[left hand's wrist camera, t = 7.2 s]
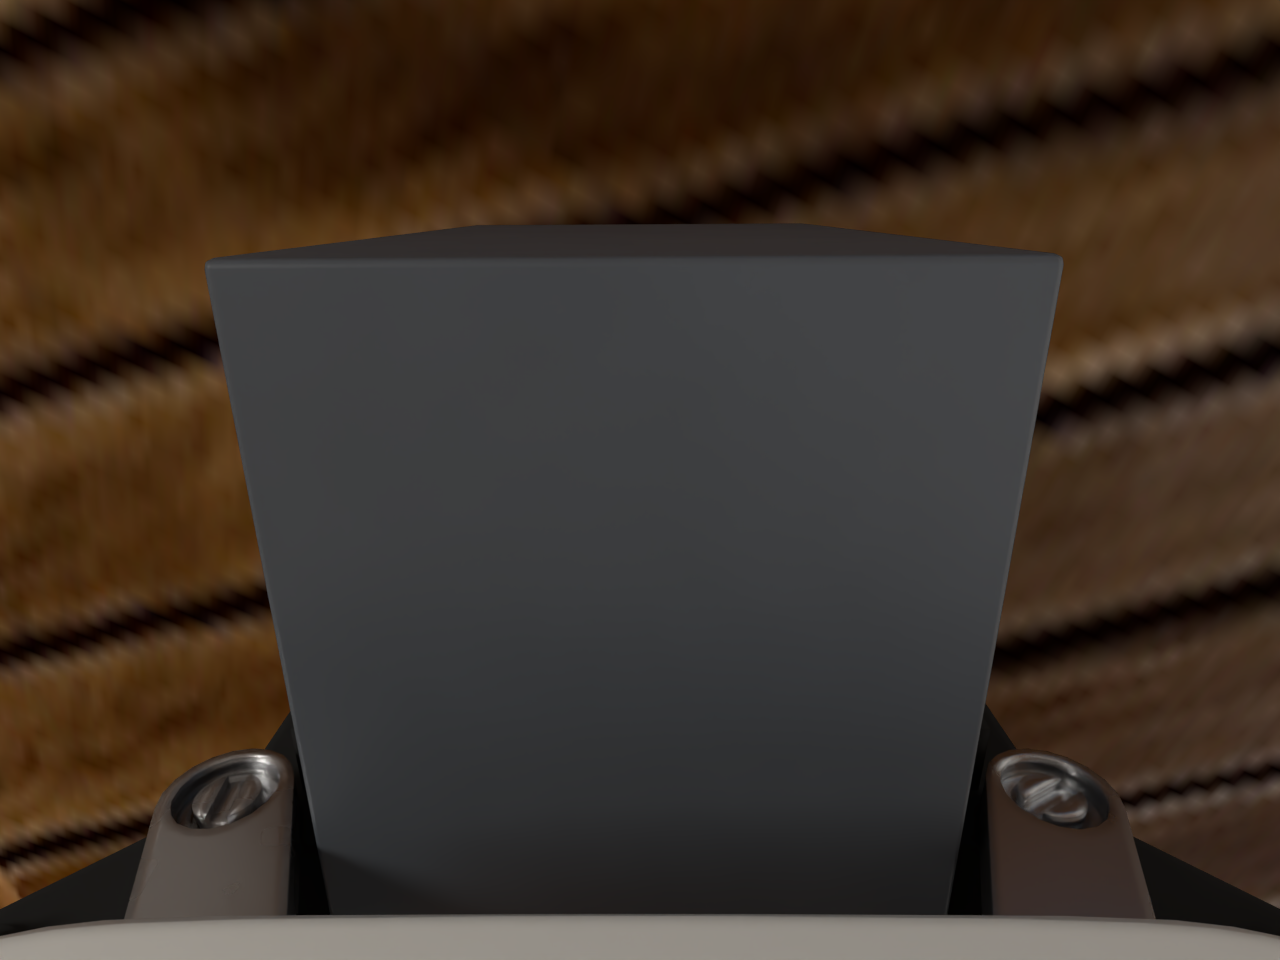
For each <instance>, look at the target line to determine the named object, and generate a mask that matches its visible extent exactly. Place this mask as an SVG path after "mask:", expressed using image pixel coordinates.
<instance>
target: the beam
mask: <svg viewBox="0 0 1280 960" xmlns="http://www.w3.org/2000/svg"><path fill="white" fill-rule="evenodd" d="M1062 270H1063V258H1062V257H1061V256H1059V255H1057V254H1054V253H1046V252H1038V251H1029V250H1021V249H1012V248H1004V247H996V246H987V245H979V244H970V243H962V242H953V241H945V240H936V239H928V238H920V237H911V236H903V235H894V234H886V233H877V232H869V231H860V230H852V229H844V228H835V227H827V226H818V225H810V224H637V225H476V226H468V227H460V228H452V229H444V230H436V231H428V232H420V233H412V234H404V235H396V236H388V237H380V238H372V239H364V240H355V241H347V242H339V243H331V244H323V245H315V246H307V247H299V248H291V249H283V250H275V251H267V252H259V253H251V254H243V255H234V256H226V257H218V258H213V259H211V260H209V261H207V262H206V263H205V274H206V279H207V284H208V289H209V294H210V299H211V304H212V309H213V315H214V320H215V325H216V330H217V335H218V340H219V345H220V351H221V356H222V361H223V366H224V371H225V376H226V381H227V387H228V392H229V397H230V402H231V407H232V412H233V417H234V422H235V428H236V433H237V438H238V443H239V448H240V453H241V458H242V464H243V469H244V474H245V479H246V484H247V489H248V494H249V500H250V505H251V510H252V515H253V520H254V525H255V530H256V535H257V541H258V546H259V551H260V556H261V561H262V566H263V571H264V577H265V582H266V587H267V592H268V597H269V602H270V607H271V613H272V618H273V623H274V628H275V633H276V638H277V643H278V649H279V654H280V659H281V664H282V669H283V674H284V679H285V684H286V690H287V695H288V700H289V705H290V710H291V715H292V720H293V726H294V731H295V736H296V741H297V746H298V751H299V756H300V762H301V767H302V772H303V777H304V782H305V787H306V792H307V797H308V803H309V808H310V813H311V818H312V823H313V828H314V833H315V839H316V844H317V849H318V854H319V859H320V864H321V869H322V875H323V880H324V885H325V890H326V895H327V900H328V905H329V910H330V915H450V914H830V915H947V914H948V909H949V903H950V898H951V892H952V886H953V881H954V875H955V870H956V864H957V858H958V853H959V847H960V842H961V836H962V830H963V825H964V819H965V814H966V808H967V802H968V797H969V791H970V785H971V780H972V774H973V769H974V763H975V757H976V752H977V746H978V741H979V735H980V729H981V724H982V718H983V713H984V707H985V701H986V696H987V690H988V685H989V679H990V673H991V668H992V662H993V657H994V651H995V645H996V640H997V634H998V629H999V623H1000V617H1001V612H1002V606H1003V601H1004V595H1005V589H1006V584H1007V578H1008V573H1009V567H1010V561H1011V556H1012V550H1013V545H1014V539H1015V533H1016V528H1017V522H1018V516H1019V511H1020V505H1021V500H1022V494H1023V488H1024V483H1025V477H1026V472H1027V466H1028V460H1029V455H1030V449H1031V444H1032V438H1033V432H1034V427H1035V421H1036V416H1037V410H1038V404H1039V399H1040V393H1041V388H1042V382H1043V376H1044V371H1045V365H1046V360H1047V354H1048V348H1049V343H1050V337H1051V332H1052V326H1053V320H1054V315H1055V309H1056V304H1057V298H1058V292H1059V287H1060V281H1061V275H1062Z"/></svg>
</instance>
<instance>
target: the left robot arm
mask: <svg viewBox="0 0 1280 960" xmlns="http://www.w3.org/2000/svg"><path fill="white" fill-rule="evenodd" d="M0 960H1280V909H1279V908H1277V907H1275V906H1273V905H1271V904H1268V903H1266V902H1264V901H1262V900H1260V899H1258V898H1256V897H1254V896H1252V895H1250V894H1248V893H1246V892H1244V891H1242V890H1240V889H1238V888H1236V887H1234V886H1232V885H1230V884H1228V883H1226V882H1224V881H1222V880H1220V879H1218V878H1216V877H1214V876H1212V875H1210V874H1208V873H1206V872H1204V871H1202V870H1200V869H1198V868H1196V867H1194V866H1191V865H1189V864H1187V863H1185V862H1183V861H1181V860H1179V859H1177V858H1175V857H1173V856H1171V855H1169V854H1167V853H1165V852H1163V851H1161V850H1159V849H1157V848H1155V847H1153V846H1151V845H1149V844H1147V843H1145V842H1143V841H1141V840H1139V839H1137V838H1135V837H1133V835H1132V831H1131V828H1130V824H1129V821H1128V817H1127V813H1126V810H1125V807H1124V805H1123V803H1122V801H1121V799H1120V797H1119V795H1118V793H1117V792H1116V791H1115V790H1114V789H1113V788H1112V787H1111V786H1110V785H1109V784H1108V783H1107V782H1106V781H1105V779H1103V778H1102V777H1100V776H1099V775H1098V774H1096V773H1095V772H1093V771H1092V770H1090V769H1089V768H1088V767H1086V766H1084V765H1082V764H1080V763H1078V762H1076V761H1074V760H1071V759H1069V758H1067V757H1064V756H1061V755H1058V754H1054V753H1051V752H1048V751H1042V750H1034V749H1016V748H1015V746H1014V745H1013V743H1012V742H1011V741H1010V739H1009V738H1008V736H1007V735H1006V733H1005V732H1004V730H1003V729H1002V727H1001V726H1000V724H999V723H998V721H997V720H996V718H995V717H994V715H993V714H992V712H991V711H990V709H989V708H988V707H987V705H986V704H985V707H984V713H983V718H982V724H981V729H980V735H979V741H978V746H977V752H976V757H975V763H974V769H973V774H972V780H971V785H970V791H969V797H968V802H967V808H966V814H965V819H964V825H963V830H962V836H961V842H960V847H959V853H958V858H957V864H956V870H955V875H954V881H953V886H952V892H951V898H950V903H949V909H948V914H947V915H830V914H450V915H330V910H329V905H328V900H327V895H326V890H325V885H324V880H323V875H322V869H321V864H320V859H319V854H318V849H317V844H316V839H315V833H314V828H313V823H312V818H311V813H310V808H309V803H308V797H307V792H306V787H305V782H304V777H303V772H302V767H301V762H300V756H299V751H298V746H297V741H296V736H295V731H294V726H293V720H292V715H291V711H290V713H289V714H288V716H287V717H286V719H285V720H284V722H283V723H282V725H281V726H280V727H279V729H278V730H277V732H276V733H275V735H274V736H273V738H272V739H271V741H270V742H269V744H268V745H267V747H266V748H265V749H246V750H238V751H232V752H229V753H226V754H222V755H219V756H216V757H213V758H211V759H209V760H206V761H204V762H202V763H200V764H198V765H196V766H194V767H192V768H191V769H190V770H188V771H187V772H185V773H184V774H182V775H181V776H180V777H178V778H177V779H175V781H174V782H173V783H172V784H171V785H170V786H169V787H168V788H167V789H166V790H165V791H164V792H163V793H162V795H161V797H160V799H159V801H158V803H157V805H156V807H155V810H154V813H153V817H152V821H151V824H150V828H149V831H148V835H147V837H146V838H144V839H142V840H140V841H138V842H136V843H134V844H132V845H130V846H128V847H126V848H124V849H122V850H120V851H118V852H116V853H114V854H112V855H110V856H108V857H106V858H104V859H101V860H99V861H97V862H95V863H93V864H91V865H89V866H87V867H85V868H83V869H81V870H79V871H77V872H75V873H73V874H71V875H69V876H67V877H65V878H63V879H61V880H59V881H57V882H55V883H53V884H51V885H49V886H47V887H45V888H43V889H41V890H39V891H37V892H35V893H32V894H30V895H28V896H26V897H24V898H22V899H20V900H18V901H16V902H14V903H12V904H10V905H8V906H6V907H4V908H2V909H0Z"/></svg>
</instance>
